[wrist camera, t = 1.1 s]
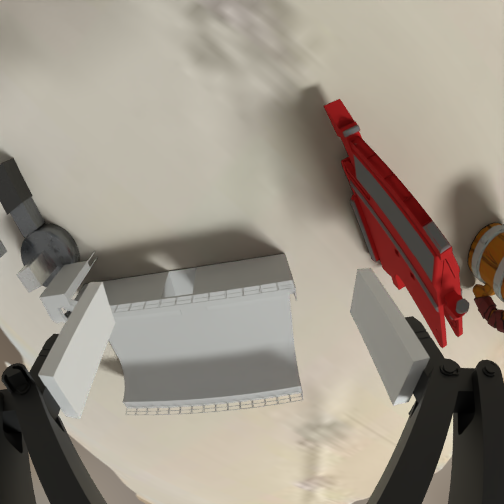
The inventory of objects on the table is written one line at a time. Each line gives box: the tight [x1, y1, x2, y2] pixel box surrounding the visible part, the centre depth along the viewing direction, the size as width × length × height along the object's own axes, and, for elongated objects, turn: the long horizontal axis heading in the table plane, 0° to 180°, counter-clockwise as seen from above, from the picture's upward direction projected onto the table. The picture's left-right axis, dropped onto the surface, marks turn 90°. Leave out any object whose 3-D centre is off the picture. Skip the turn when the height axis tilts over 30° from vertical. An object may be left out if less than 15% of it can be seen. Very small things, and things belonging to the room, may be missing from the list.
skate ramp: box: [40, 251, 303, 415], centre depth 43 cm, size 30×27×11 cm
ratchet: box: [0, 158, 80, 292], centre depth 35 cm, size 20×9×8 cm, turn 22°
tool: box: [324, 99, 469, 348], centre depth 34 cm, size 24×5×25 cm, turn 30°
